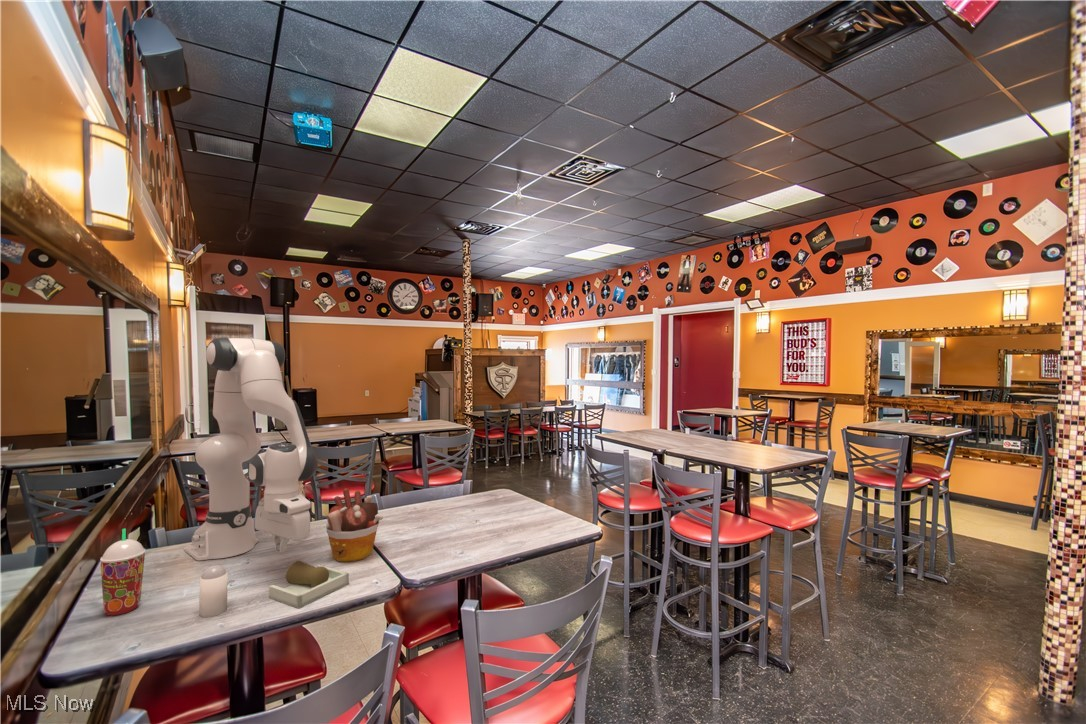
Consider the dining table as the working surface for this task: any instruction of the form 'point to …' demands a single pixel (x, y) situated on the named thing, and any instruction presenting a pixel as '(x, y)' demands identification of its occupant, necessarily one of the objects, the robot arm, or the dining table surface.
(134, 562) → the smoothie
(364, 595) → the dining table surface
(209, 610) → the salt shaker
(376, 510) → the bucket of meat
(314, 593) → the tray
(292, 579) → the brown chess pawn
